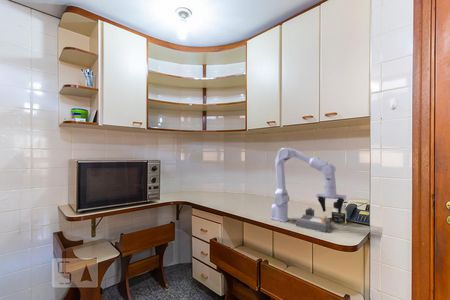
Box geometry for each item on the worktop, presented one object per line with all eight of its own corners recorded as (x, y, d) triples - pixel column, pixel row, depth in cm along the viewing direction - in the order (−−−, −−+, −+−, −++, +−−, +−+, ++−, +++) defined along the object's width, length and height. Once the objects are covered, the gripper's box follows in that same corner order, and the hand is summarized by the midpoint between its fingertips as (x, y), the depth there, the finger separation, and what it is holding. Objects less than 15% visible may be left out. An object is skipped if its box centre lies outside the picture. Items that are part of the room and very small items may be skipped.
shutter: (309, 221, 122) (309, 216, 122) (313, 218, 127) (313, 213, 128) (323, 224, 117) (323, 219, 117) (327, 221, 123) (327, 216, 123)
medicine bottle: (331, 223, 129) (331, 202, 129) (333, 220, 135) (333, 200, 135) (345, 225, 125) (345, 204, 126) (346, 222, 131) (346, 202, 131)
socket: (296, 226, 124) (296, 218, 124) (303, 220, 133) (303, 214, 133) (325, 232, 115) (325, 224, 115) (330, 226, 124) (330, 219, 124)
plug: (305, 220, 135) (305, 208, 135) (307, 218, 138) (307, 206, 138) (312, 221, 132) (312, 209, 132) (314, 219, 135) (314, 207, 135)
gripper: (346, 186, 117) (348, 212, 116) (318, 185, 127) (320, 209, 126) (343, 187, 112) (345, 215, 111) (314, 186, 121) (316, 211, 121)
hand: (331, 212), depth 118 cm, fingers open, 7 cm apart
